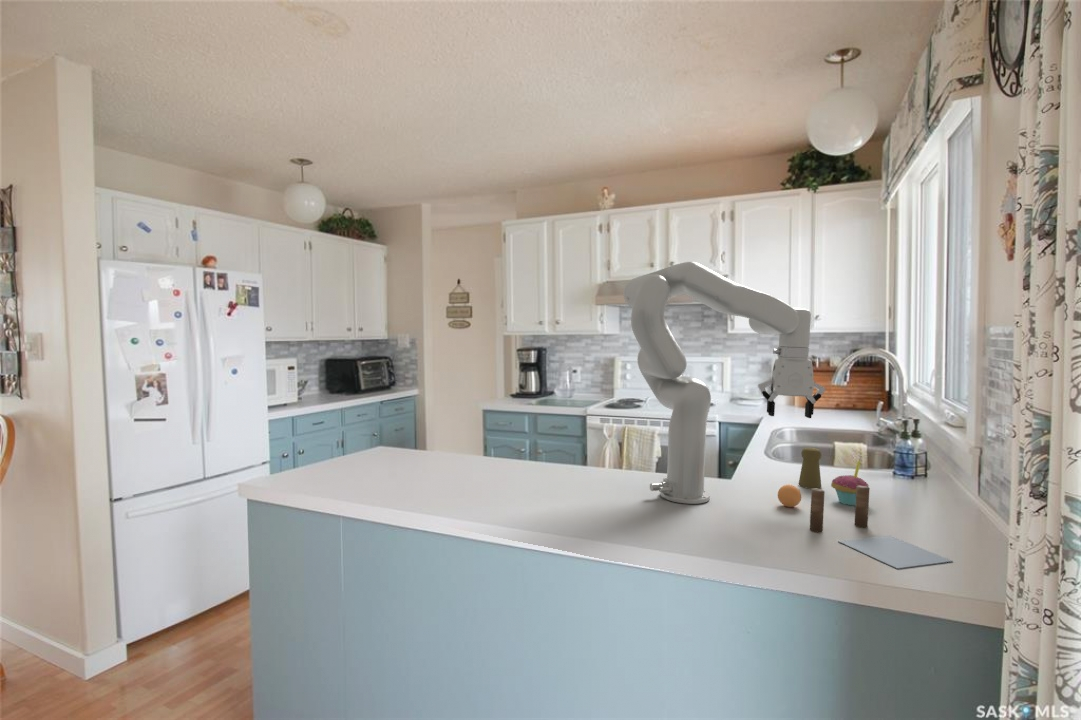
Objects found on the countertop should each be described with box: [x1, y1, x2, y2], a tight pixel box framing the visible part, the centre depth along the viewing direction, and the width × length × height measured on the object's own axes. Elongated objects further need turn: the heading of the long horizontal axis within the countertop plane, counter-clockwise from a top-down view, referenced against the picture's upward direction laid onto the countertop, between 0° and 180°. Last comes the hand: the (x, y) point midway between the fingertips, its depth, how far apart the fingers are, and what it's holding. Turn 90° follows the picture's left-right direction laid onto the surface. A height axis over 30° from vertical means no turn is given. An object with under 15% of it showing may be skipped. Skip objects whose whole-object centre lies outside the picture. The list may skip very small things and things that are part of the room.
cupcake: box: [830, 458, 870, 506], centre depth 148 cm, size 9×8×12 cm
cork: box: [798, 446, 822, 489], centre depth 164 cm, size 6×6×11 cm
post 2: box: [854, 486, 871, 529], centre depth 131 cm, size 3×3×9 cm
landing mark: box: [838, 535, 954, 570], centre depth 116 cm, size 14×14×1 cm
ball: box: [777, 484, 802, 508], centre depth 144 cm, size 6×6×6 cm
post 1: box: [809, 488, 825, 533], centre depth 127 cm, size 3×3×9 cm
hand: (789, 416), depth 156 cm, fingers open, 9 cm apart
